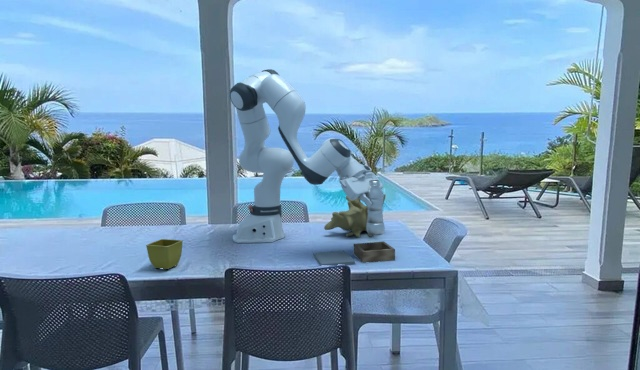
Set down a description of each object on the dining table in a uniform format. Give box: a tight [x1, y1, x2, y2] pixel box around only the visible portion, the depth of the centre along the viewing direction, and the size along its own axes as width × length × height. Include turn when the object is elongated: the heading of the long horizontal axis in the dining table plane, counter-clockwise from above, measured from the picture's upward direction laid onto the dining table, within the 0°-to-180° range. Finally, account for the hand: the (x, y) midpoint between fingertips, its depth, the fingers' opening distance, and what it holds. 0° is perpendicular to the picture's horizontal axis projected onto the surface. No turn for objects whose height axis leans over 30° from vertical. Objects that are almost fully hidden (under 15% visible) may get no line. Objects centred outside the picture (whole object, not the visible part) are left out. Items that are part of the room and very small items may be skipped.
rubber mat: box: [312, 250, 356, 266], centre depth 159 cm, size 12×14×1 cm
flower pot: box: [145, 238, 183, 270], centre depth 152 cm, size 9×9×9 cm
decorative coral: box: [324, 193, 386, 238], centre depth 194 cm, size 26×22×25 cm
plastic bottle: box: [366, 179, 385, 236], centre depth 159 cm, size 6×7×20 cm
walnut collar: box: [353, 241, 396, 264], centre depth 161 cm, size 12×11×4 cm
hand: (376, 203), depth 159 cm, fingers closed on plastic bottle, 6 cm apart
